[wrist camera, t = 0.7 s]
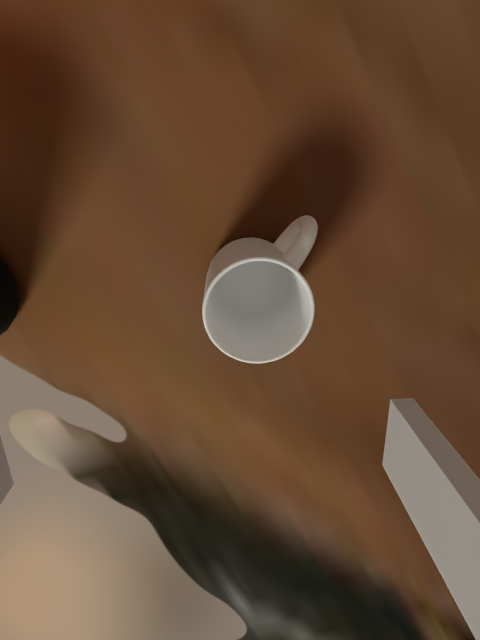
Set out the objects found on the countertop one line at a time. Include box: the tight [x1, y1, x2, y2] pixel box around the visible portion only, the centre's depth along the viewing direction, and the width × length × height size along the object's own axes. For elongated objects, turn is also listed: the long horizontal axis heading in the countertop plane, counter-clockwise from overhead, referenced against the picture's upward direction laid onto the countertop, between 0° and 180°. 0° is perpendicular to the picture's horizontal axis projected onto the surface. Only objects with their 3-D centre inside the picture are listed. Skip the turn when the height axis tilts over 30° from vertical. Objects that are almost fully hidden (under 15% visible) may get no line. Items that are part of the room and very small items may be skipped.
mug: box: [202, 215, 318, 363], centre depth 34 cm, size 12×8×10 cm
